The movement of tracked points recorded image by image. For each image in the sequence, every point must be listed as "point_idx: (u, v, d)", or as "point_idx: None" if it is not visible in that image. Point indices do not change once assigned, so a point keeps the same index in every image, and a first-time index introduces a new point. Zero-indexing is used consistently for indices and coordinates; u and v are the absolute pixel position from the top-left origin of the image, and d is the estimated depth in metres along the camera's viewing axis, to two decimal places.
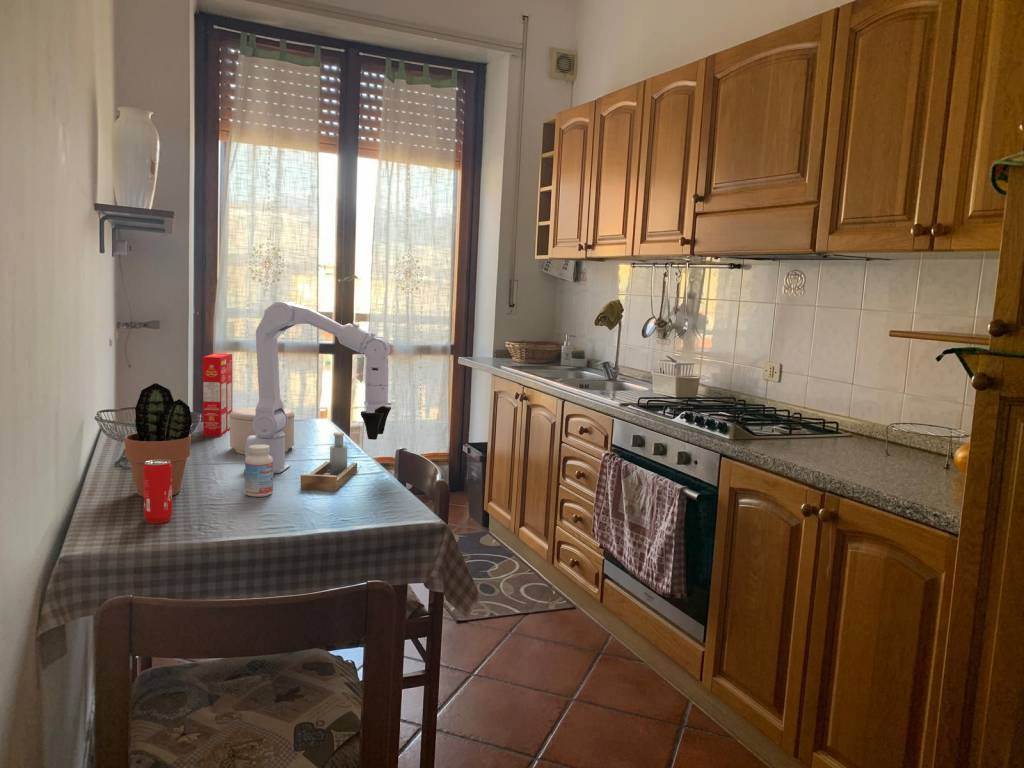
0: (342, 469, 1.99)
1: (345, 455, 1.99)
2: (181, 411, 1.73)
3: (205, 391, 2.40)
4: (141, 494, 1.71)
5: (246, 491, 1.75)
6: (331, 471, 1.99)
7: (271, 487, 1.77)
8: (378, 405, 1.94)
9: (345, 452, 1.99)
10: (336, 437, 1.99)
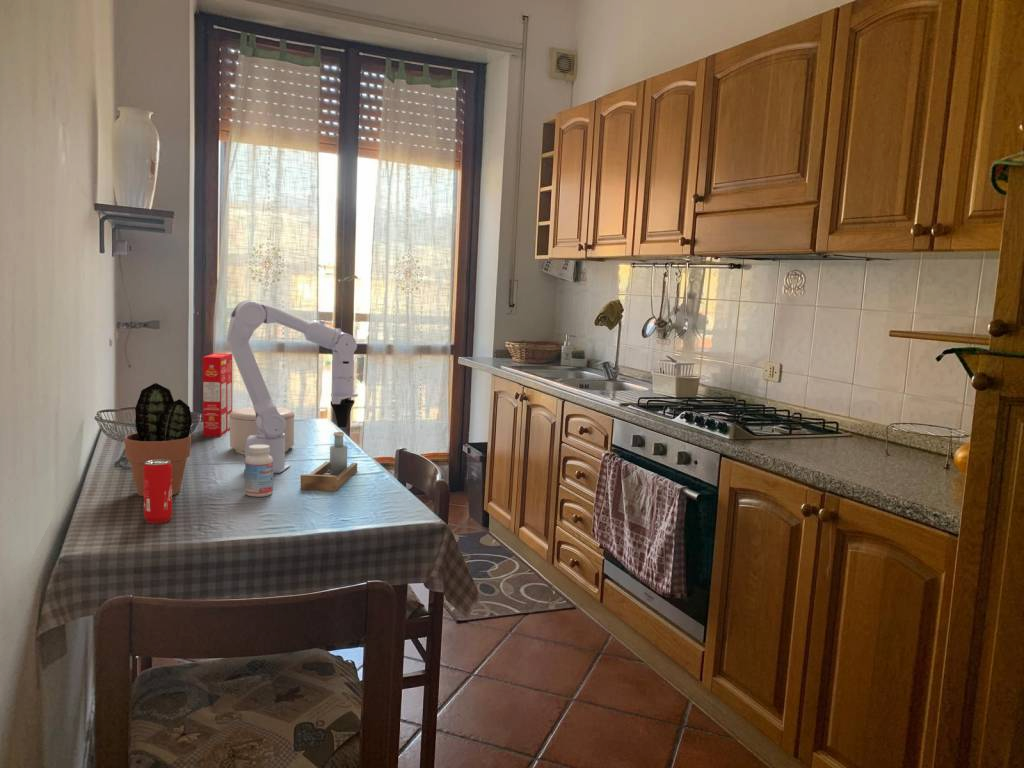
0: (342, 469, 1.99)
1: (345, 455, 1.99)
2: (181, 411, 1.73)
3: (205, 391, 2.40)
4: (141, 494, 1.71)
5: (246, 491, 1.75)
6: (331, 471, 1.99)
7: (271, 487, 1.77)
8: (344, 397, 2.03)
9: (345, 452, 1.99)
10: (336, 437, 1.99)
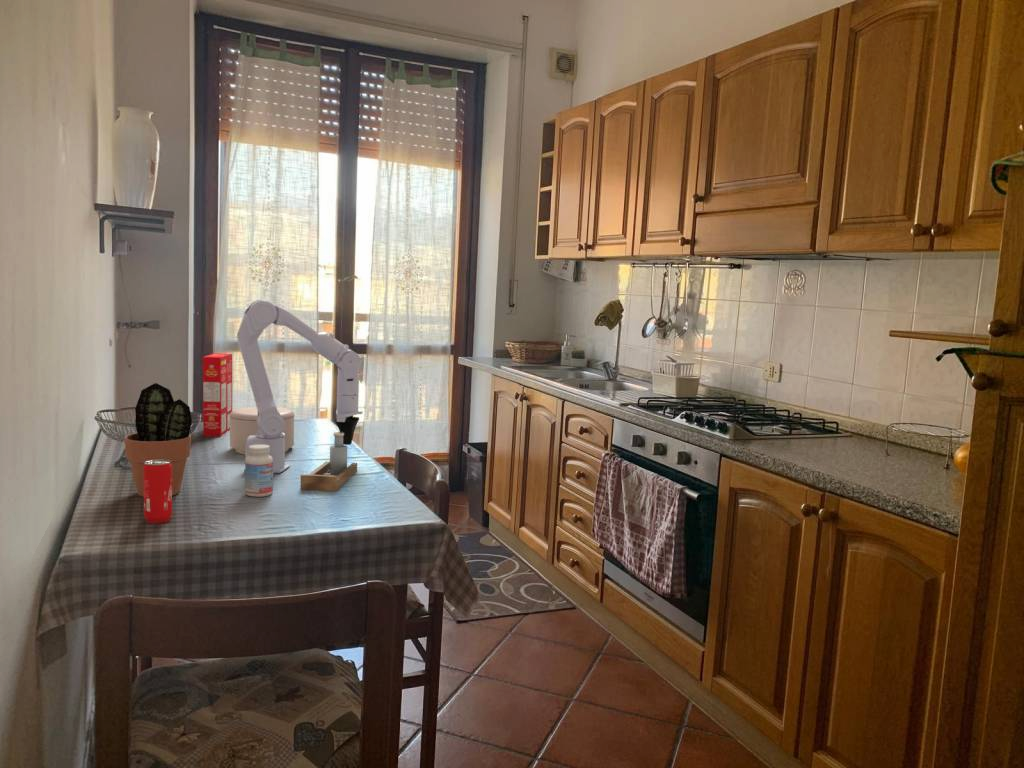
0: (342, 469, 1.99)
1: (345, 455, 1.99)
2: (181, 411, 1.73)
3: (205, 391, 2.40)
4: (141, 494, 1.71)
5: (246, 491, 1.75)
6: (331, 471, 1.99)
7: (271, 487, 1.77)
8: (348, 414, 2.03)
9: (345, 452, 1.99)
10: (336, 437, 1.99)
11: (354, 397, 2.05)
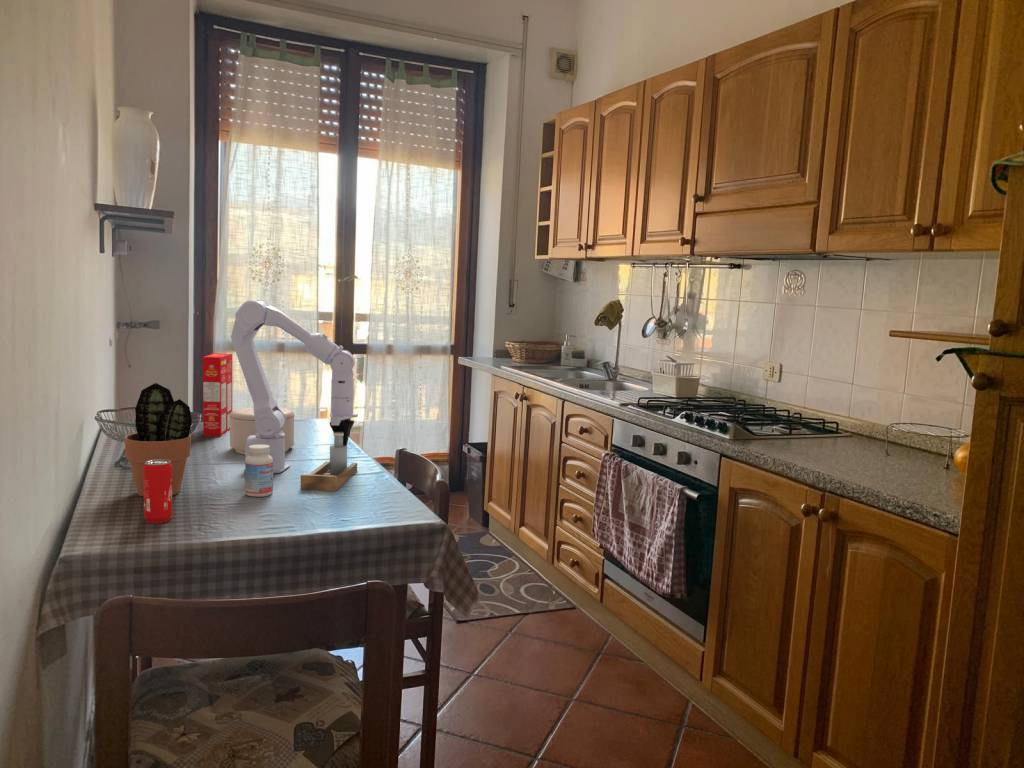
0: (342, 469, 1.99)
1: (345, 455, 1.99)
2: (181, 411, 1.73)
3: (205, 391, 2.40)
4: (141, 494, 1.71)
5: (246, 491, 1.75)
6: (331, 471, 1.99)
7: (271, 487, 1.77)
8: (343, 417, 1.97)
9: (345, 452, 1.99)
10: (336, 437, 1.98)
11: (349, 400, 2.00)
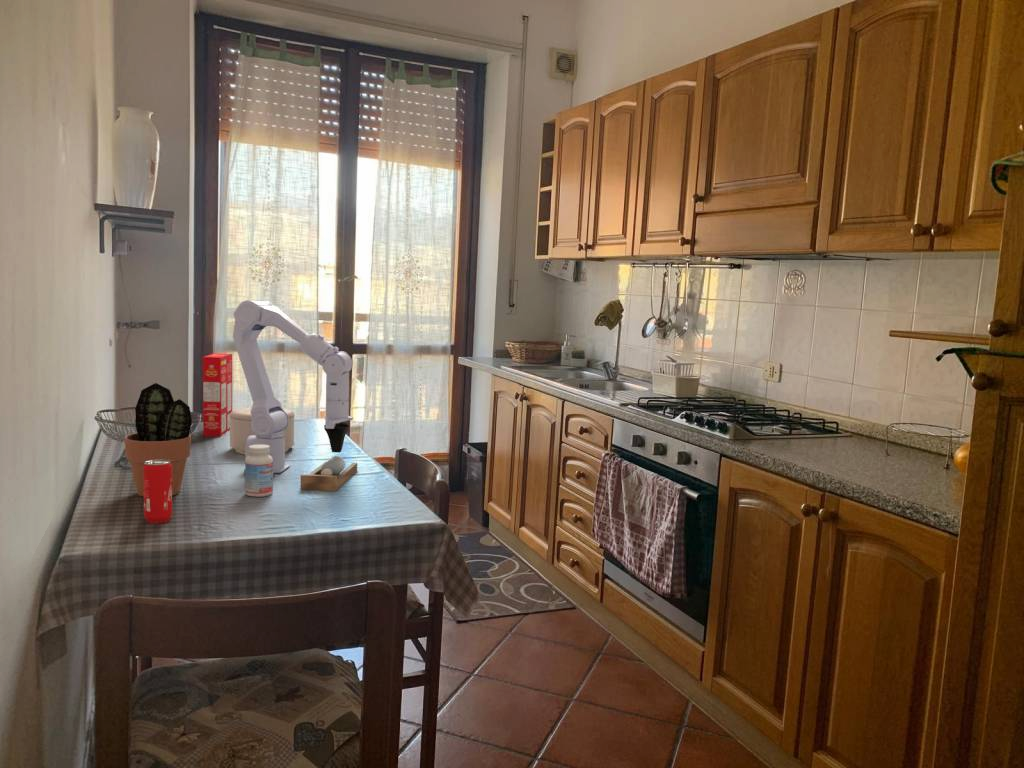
0: None
1: (339, 472, 1.94)
2: (181, 411, 1.73)
3: (205, 391, 2.40)
4: (141, 494, 1.71)
5: (246, 491, 1.75)
6: None
7: (271, 487, 1.77)
8: (338, 421, 1.93)
9: (338, 473, 1.93)
10: None
11: (344, 402, 1.95)
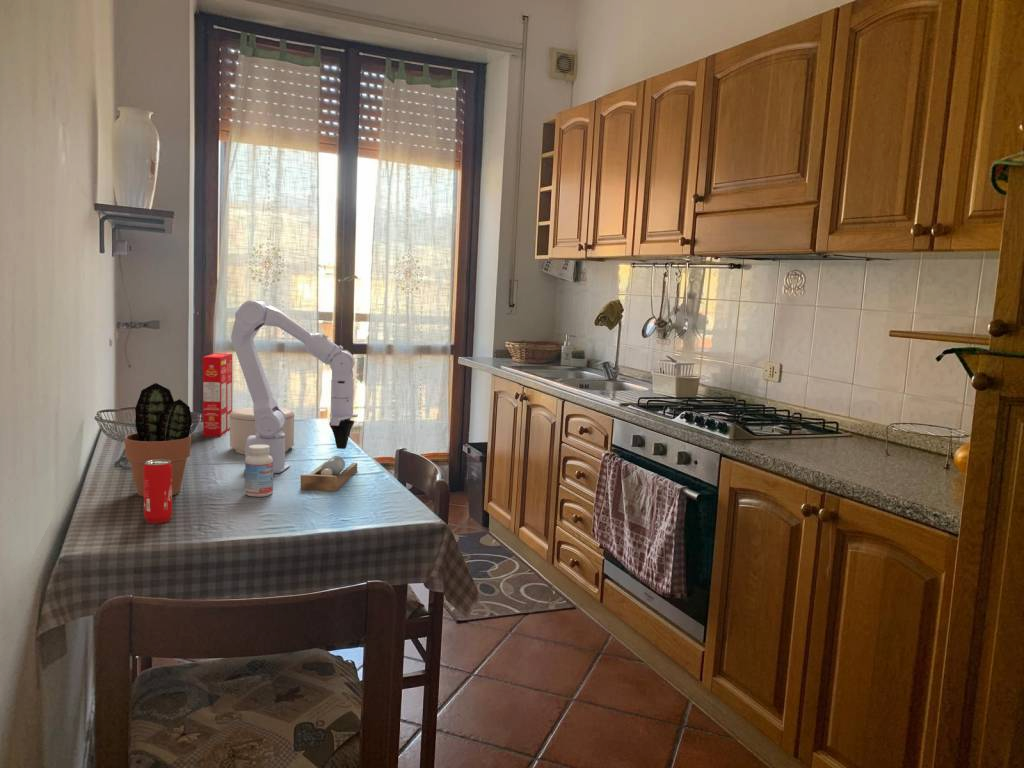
0: None
1: (339, 472, 1.94)
2: (181, 411, 1.73)
3: (205, 391, 2.40)
4: (141, 494, 1.71)
5: (246, 491, 1.75)
6: None
7: (271, 487, 1.77)
8: (343, 418, 1.97)
9: (338, 473, 1.93)
10: None
11: (349, 400, 2.00)
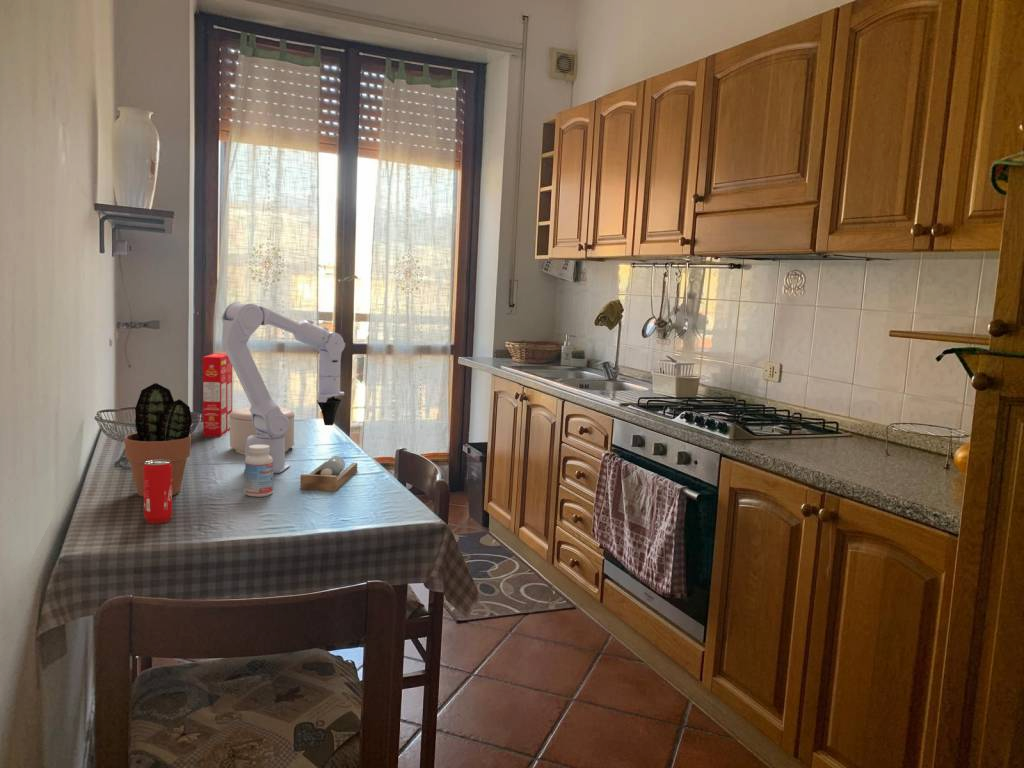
0: (340, 472, 1.97)
1: (339, 472, 1.94)
2: (181, 411, 1.73)
3: (205, 391, 2.40)
4: (141, 494, 1.71)
5: (246, 491, 1.75)
6: None
7: (271, 487, 1.77)
8: (330, 395, 2.06)
9: (338, 473, 1.93)
10: None
11: (336, 378, 2.09)
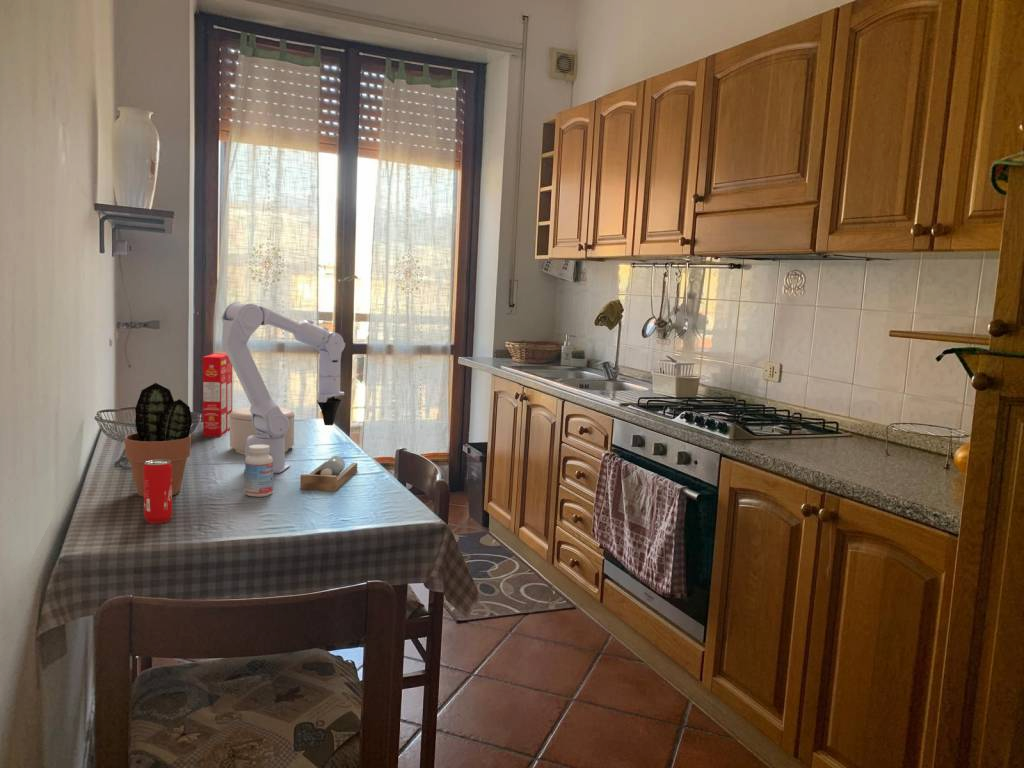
0: (340, 472, 1.97)
1: (339, 472, 1.94)
2: (181, 411, 1.73)
3: (205, 391, 2.40)
4: (141, 494, 1.71)
5: (246, 491, 1.75)
6: None
7: (271, 487, 1.77)
8: (330, 395, 2.06)
9: (338, 473, 1.93)
10: None
11: (336, 378, 2.09)
